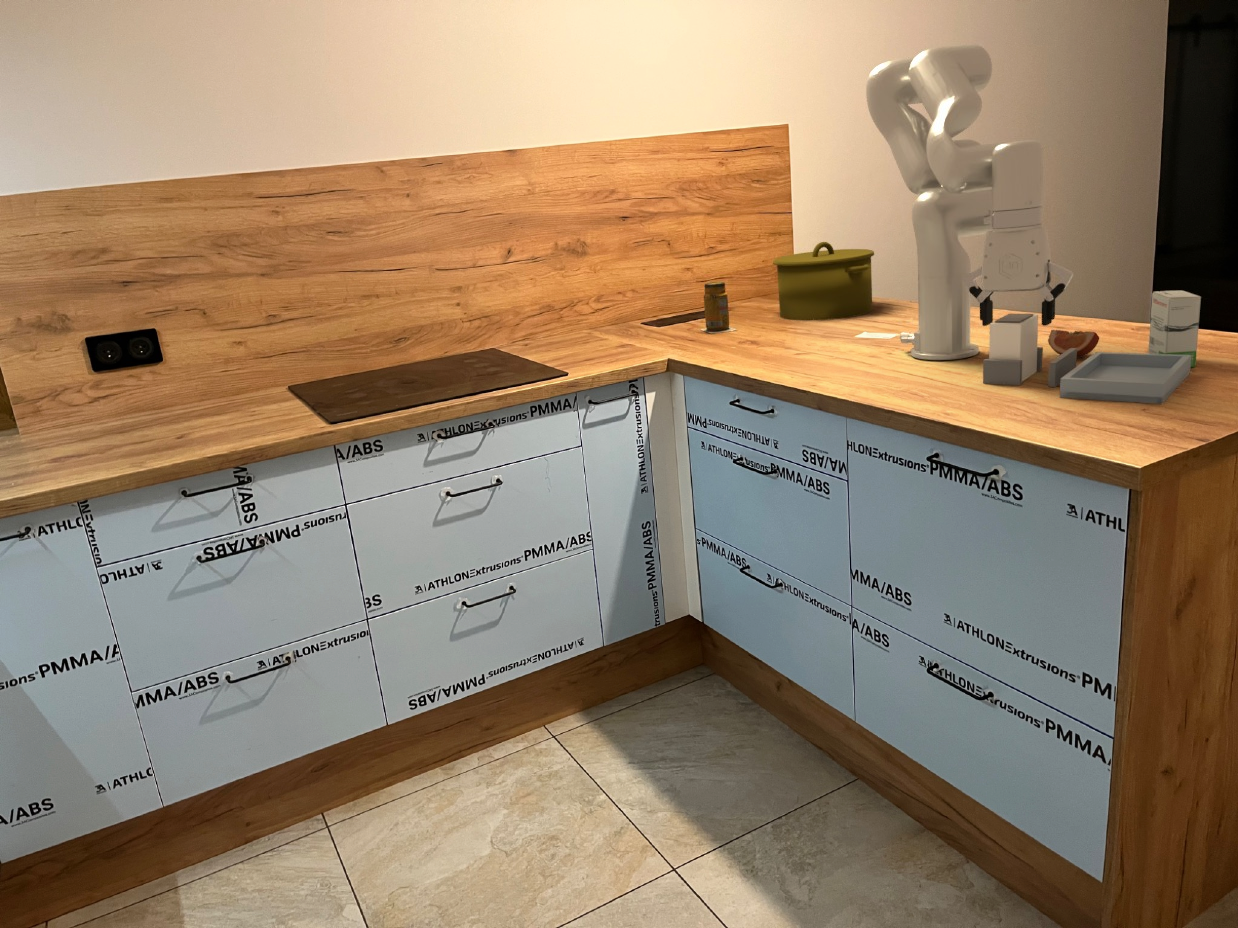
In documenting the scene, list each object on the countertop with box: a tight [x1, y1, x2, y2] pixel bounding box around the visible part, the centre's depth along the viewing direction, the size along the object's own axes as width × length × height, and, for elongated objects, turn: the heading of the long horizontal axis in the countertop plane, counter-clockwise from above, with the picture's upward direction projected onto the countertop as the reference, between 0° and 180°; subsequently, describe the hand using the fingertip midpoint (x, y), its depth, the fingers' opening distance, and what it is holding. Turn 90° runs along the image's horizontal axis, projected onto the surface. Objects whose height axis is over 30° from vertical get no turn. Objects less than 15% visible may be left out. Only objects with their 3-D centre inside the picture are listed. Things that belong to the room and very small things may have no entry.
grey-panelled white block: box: [988, 313, 1039, 382], centre depth 157 cm, size 5×9×10 cm, turn 140°
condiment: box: [700, 281, 738, 334], centre depth 234 cm, size 7×8×12 cm
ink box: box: [1147, 290, 1202, 368], centre depth 154 cm, size 9×5×12 cm, turn 168°
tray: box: [1059, 351, 1192, 405], centre depth 145 cm, size 14×20×3 cm
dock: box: [982, 346, 1078, 388], centre depth 156 cm, size 12×12×4 cm
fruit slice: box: [1047, 329, 1100, 359], centre depth 167 cm, size 8×7×5 cm
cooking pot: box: [772, 241, 875, 321], centre depth 242 cm, size 30×26×18 cm
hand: (1016, 324), depth 155 cm, fingers open, 9 cm apart
